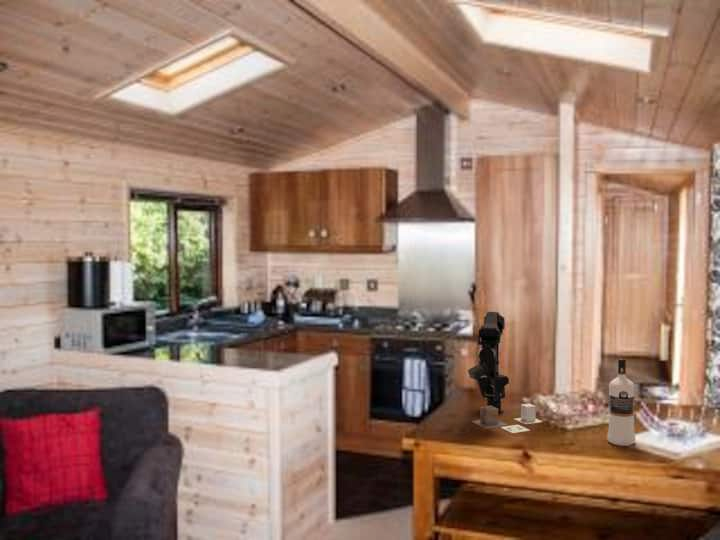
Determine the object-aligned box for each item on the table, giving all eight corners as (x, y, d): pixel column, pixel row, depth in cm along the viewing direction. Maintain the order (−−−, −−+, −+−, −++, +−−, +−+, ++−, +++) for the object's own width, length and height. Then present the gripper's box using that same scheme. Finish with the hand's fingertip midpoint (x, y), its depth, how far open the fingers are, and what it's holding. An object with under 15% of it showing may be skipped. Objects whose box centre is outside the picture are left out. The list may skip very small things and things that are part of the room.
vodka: (635, 439, 238) (636, 356, 236) (635, 447, 229) (636, 362, 227) (607, 437, 241) (608, 355, 239) (607, 445, 233) (607, 360, 231)
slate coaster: (471, 422, 262) (471, 421, 262) (493, 419, 266) (493, 418, 266) (485, 429, 253) (485, 428, 253) (507, 425, 256) (507, 424, 256)
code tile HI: (513, 419, 265) (513, 418, 265) (530, 417, 268) (530, 416, 268) (525, 425, 257) (525, 424, 257) (542, 422, 260) (542, 421, 260)
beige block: (520, 419, 263) (520, 404, 263) (529, 418, 265) (529, 403, 265) (527, 422, 260) (527, 407, 259) (535, 420, 261) (535, 405, 261)
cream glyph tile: (500, 427, 254) (500, 427, 254) (517, 425, 257) (517, 424, 257) (512, 433, 247) (512, 433, 247) (530, 431, 250) (530, 430, 250)
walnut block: (480, 422, 261) (480, 407, 260) (491, 420, 262) (491, 405, 262) (487, 425, 256) (487, 410, 256) (498, 423, 258) (498, 408, 257)
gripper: (458, 355, 263) (458, 394, 264) (484, 364, 246) (484, 406, 247) (482, 353, 267) (483, 391, 268) (509, 361, 250) (509, 402, 251)
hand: (489, 397), depth 258 cm, fingers open, 9 cm apart
